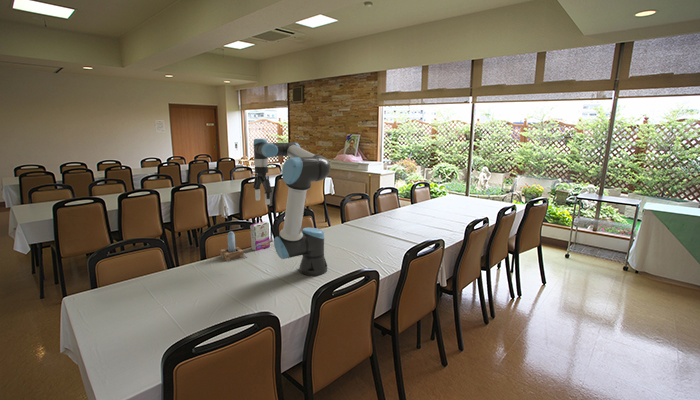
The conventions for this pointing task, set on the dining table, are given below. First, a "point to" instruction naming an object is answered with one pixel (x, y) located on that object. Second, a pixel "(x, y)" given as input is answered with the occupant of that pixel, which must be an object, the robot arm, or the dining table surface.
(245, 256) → the mat
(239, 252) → the wooden square frame
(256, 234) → the candy bar box
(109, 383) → the dining table surface
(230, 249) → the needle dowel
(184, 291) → the dining table surface
